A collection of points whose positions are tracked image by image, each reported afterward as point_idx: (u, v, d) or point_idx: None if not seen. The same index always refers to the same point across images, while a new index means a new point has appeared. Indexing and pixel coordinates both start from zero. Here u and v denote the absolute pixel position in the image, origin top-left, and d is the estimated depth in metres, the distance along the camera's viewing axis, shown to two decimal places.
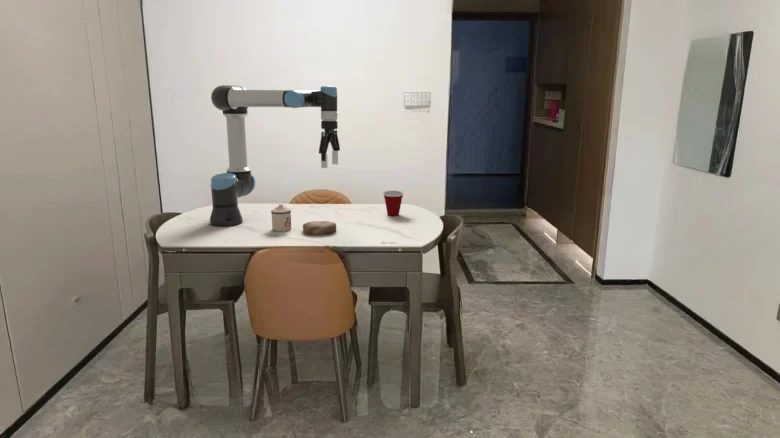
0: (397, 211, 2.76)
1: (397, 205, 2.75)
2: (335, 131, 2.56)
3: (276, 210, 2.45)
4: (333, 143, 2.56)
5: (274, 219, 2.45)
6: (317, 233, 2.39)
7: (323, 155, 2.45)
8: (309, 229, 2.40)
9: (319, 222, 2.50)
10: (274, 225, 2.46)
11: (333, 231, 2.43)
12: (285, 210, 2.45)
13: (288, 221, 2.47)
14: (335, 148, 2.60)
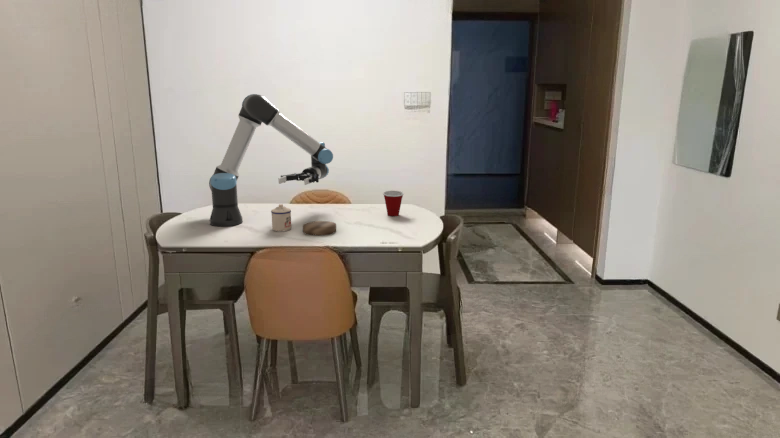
0: (397, 211, 2.76)
1: (397, 205, 2.75)
2: None
3: (276, 210, 2.45)
4: (293, 178, 2.68)
5: (274, 219, 2.45)
6: (317, 233, 2.39)
7: (313, 180, 2.60)
8: (309, 229, 2.40)
9: (319, 222, 2.50)
10: (274, 225, 2.46)
11: (333, 231, 2.43)
12: (285, 210, 2.45)
13: (288, 221, 2.47)
14: (285, 178, 2.66)
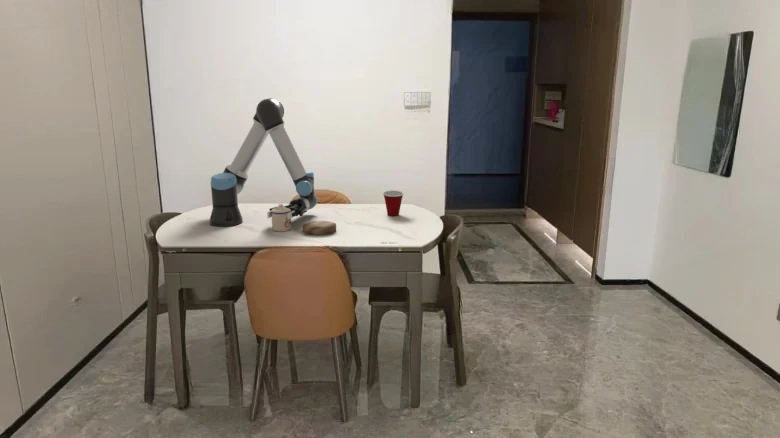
0: (397, 211, 2.76)
1: (397, 205, 2.75)
2: None
3: (276, 210, 2.45)
4: None
5: (274, 219, 2.45)
6: (317, 233, 2.39)
7: (296, 214, 2.49)
8: (309, 229, 2.40)
9: (319, 222, 2.50)
10: (274, 225, 2.46)
11: (333, 231, 2.43)
12: (285, 210, 2.45)
13: (288, 221, 2.47)
14: None
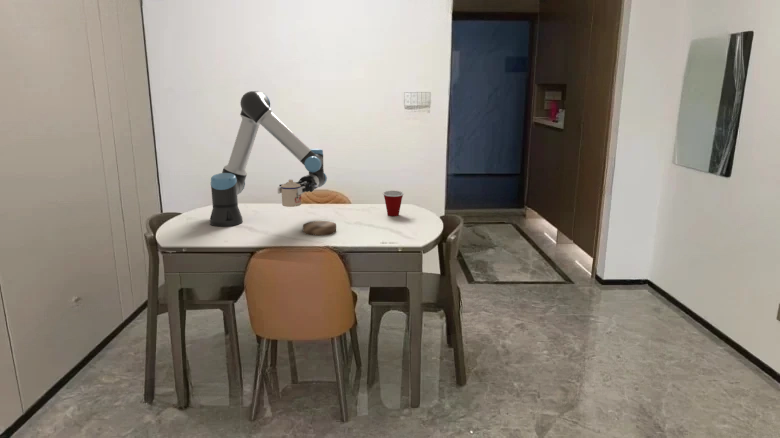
0: (397, 211, 2.76)
1: (397, 205, 2.75)
2: None
3: (286, 185, 2.41)
4: None
5: (284, 194, 2.42)
6: (317, 233, 2.39)
7: (306, 190, 2.46)
8: (309, 229, 2.40)
9: (319, 222, 2.50)
10: (284, 200, 2.43)
11: (333, 231, 2.43)
12: (295, 185, 2.42)
13: (298, 196, 2.43)
14: None
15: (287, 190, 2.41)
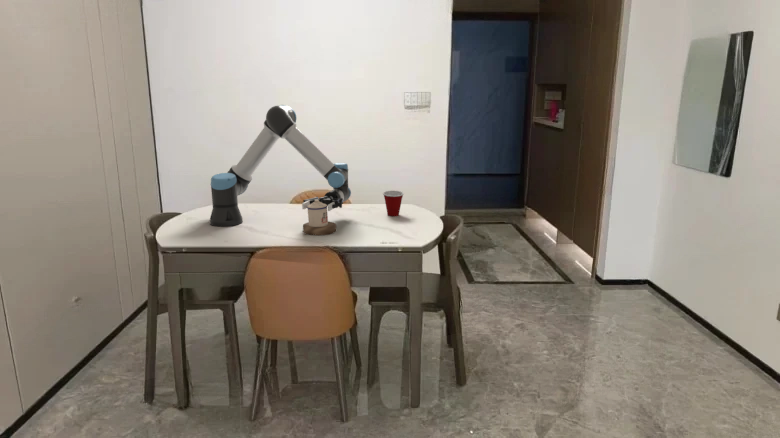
0: (397, 211, 2.76)
1: (397, 205, 2.75)
2: None
3: (312, 206, 2.39)
4: None
5: (311, 215, 2.40)
6: (317, 233, 2.39)
7: (336, 206, 2.44)
8: (309, 229, 2.40)
9: None
10: (311, 221, 2.41)
11: (333, 231, 2.43)
12: (321, 205, 2.40)
13: (325, 216, 2.41)
14: None
15: (314, 211, 2.39)
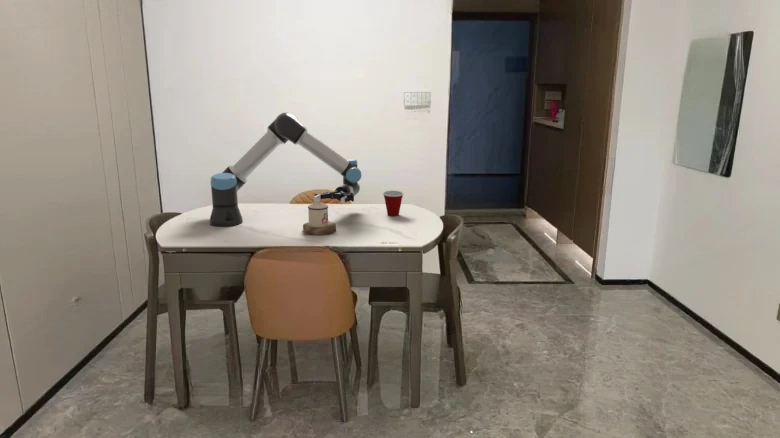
0: (397, 211, 2.76)
1: (397, 205, 2.75)
2: None
3: (313, 206, 2.39)
4: (327, 196, 2.65)
5: (311, 215, 2.40)
6: (317, 233, 2.39)
7: (348, 199, 2.57)
8: (309, 229, 2.40)
9: None
10: (311, 221, 2.41)
11: (333, 231, 2.43)
12: (322, 206, 2.40)
13: (325, 217, 2.41)
14: None
15: (314, 211, 2.39)
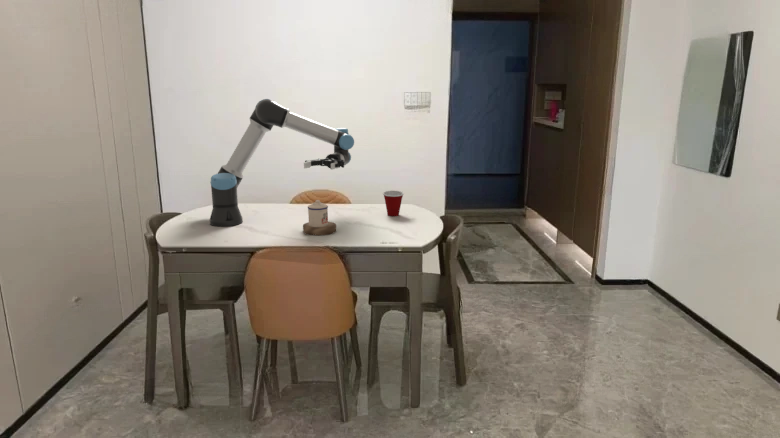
0: (397, 211, 2.76)
1: (397, 205, 2.75)
2: None
3: (313, 206, 2.39)
4: (318, 163, 2.64)
5: (311, 215, 2.40)
6: (317, 233, 2.39)
7: (339, 165, 2.57)
8: (309, 229, 2.40)
9: None
10: (311, 221, 2.41)
11: (333, 231, 2.43)
12: (322, 206, 2.40)
13: (325, 217, 2.41)
14: None
15: (314, 211, 2.39)
